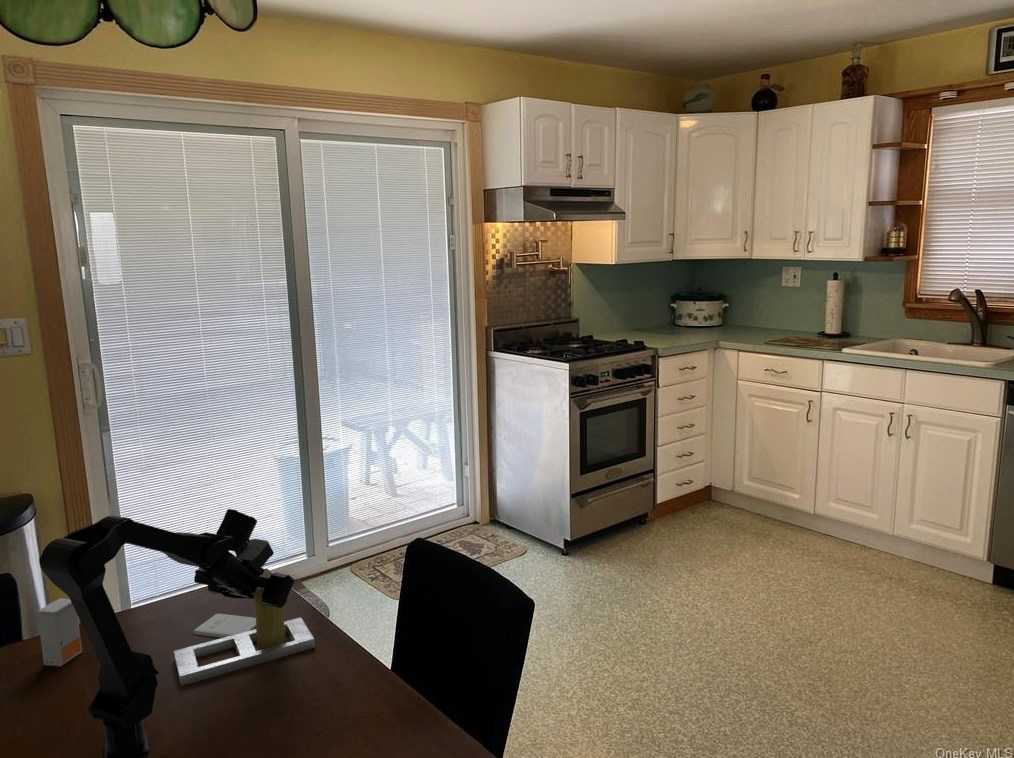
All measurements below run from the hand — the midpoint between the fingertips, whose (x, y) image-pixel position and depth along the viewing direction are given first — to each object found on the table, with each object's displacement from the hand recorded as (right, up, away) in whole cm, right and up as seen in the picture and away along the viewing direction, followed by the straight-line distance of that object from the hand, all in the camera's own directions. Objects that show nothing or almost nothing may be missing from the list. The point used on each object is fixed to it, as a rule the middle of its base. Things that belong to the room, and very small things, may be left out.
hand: (273, 599), depth 155 cm
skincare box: (-43, -12, -2) cm, 45 cm away
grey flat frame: (-5, -11, -2) cm, 12 cm away
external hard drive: (-12, -10, +9) cm, 18 cm away
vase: (0, -10, 0) cm, 10 cm away
